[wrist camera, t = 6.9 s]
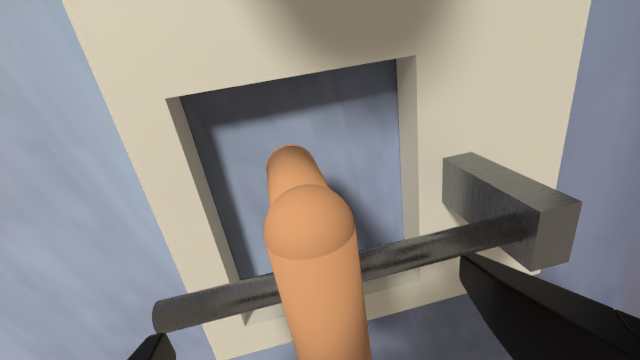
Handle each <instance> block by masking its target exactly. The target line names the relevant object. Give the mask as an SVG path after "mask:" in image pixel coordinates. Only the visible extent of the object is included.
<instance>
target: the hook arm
mask: <svg viewBox="0 0 640 360" xmlns="http://www.w3.org/2000/svg"><path fill="white" fill-rule="evenodd" d="M442 202H443V203H444V204H445V205H447V206H448V207H449V208H450V209H452V210H453V211H454V212H455V213H457V214H458V215H459V216H460V217H462V218H463V219H464V220H465V221H467V222H468V223H469V224H466V225H462V226H458V227H454V228H450V229H446V230H442V231H438V232H434V233H430V234H426V235H422V236H417V237H413V238H409V239H405V240H401V241H397V242H393V243H389V244H385V245H381V246H377V247H373V248H369V249H365V250H361V251H358V253H359V261H360V269H361V277H362V282H365V281H369V280H373V279H377V278H380V277H384V276H388V275H392V274H396V273H400V272H403V271H407V270H411V269H415V268H419V267H423V266H426V265H430V264H434V263H438V262H442V261H446V260H449V259H453V258H457V257H461V256H462V255H464V254H468V253H476V252H480V251H484V250H488V249H492V248H496V247H499V248H501V249H502V250H503V251H504V252H506V253H507V254H508V255H509V256H511V257H512V258H513V259H515V260H516V261H517V262H518V263H520V264H521V265H522V266H523V267H525V268H526V269H527V270H528V271H530V272H533V271H536V270H540V269H544V268H547V267H551V266H555V265H558V264H562V263H566V262H569V258H570V253H571V249H572V245H573V241H574V236H575V232H576V228H577V223H578V219H579V215H580V210H581V206H582V201H580V200H577V199H575V198H573V197H571V196H568V195H566V194H564V193H562V192H560V191H557V190H555V189H553V188H551V187H548V186H546V185H544V184H542V183H540V182H537V181H535V180H533V179H531V178H528V177H526V176H524V175H522V174H520V173H517V172H515V171H513V170H511V169H508V168H506V167H504V166H502V165H500V164H497V163H495V162H493V161H491V160H488V159H486V158H484V157H482V156H480V155H477V154H475V153H473V152H468V153H464V154H459V155H454V156H450V157H445V158H443V170H442ZM280 303H282V301H281V297H280V294H279V290H278V286H277V283H276V279H275V276H274V272H272V273H268V274H264V275H260V276H256V277H252V278H248V279H244V280H240V281H236V282H232V283H228V284H224V285H220V286H216V287H212V288H207V289H203V290H199V291H195V292H191V293H187V294H183V295H179V296H175V297H171V298H167V299H163V300H159V301H157V302H156V303H155V305H154V307H153V311H152V322H153V327H154V329H155V331H156V333H157V334H158V333H169V332H173V331H177V330H181V329H184V328H188V327H192V326H196V325H200V324H204V323H207V322H211V321H215V320H219V319H223V318H227V317H231V316H234V315H238V314H242V313H246V312H250V311H254V310H257V309H261V308H265V307H269V306H273V305H277V304H280Z"/></svg>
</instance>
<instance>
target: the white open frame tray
mask: <svg viewBox="0 0 640 360" xmlns="http://www.w3.org/2000/svg"><path fill="white" fill-rule="evenodd" d="M62 2H63V5H64V7H65V9H66V12H67V14H68V16H69V18H70V21H71V23H72V25H73V28H74V30H75V32H76V35H77V37H78V39H79V42H80V44H81V46H82V49H83V51H84V53H85V56H86V58H87V60H88V63H89V65H90V67H91V69H92V72H93V74H94V76H95V79H96V81H97V83H98V86H99V88H100V90H101V93H102V95H103V97H104V100H105V102H106V104H107V107H108V109H109V111H110V113H111V116H112V118H113V120H114V123H115V125H116V127H117V130H118V132H119V134H120V137H121V139H122V141H123V144H124V146H125V148H126V151H127V153H128V155H129V157H130V160H131V162H132V164H133V167H134V169H135V171H136V174H137V176H138V178H139V181H140V183H141V185H142V188H143V190H144V192H145V195H146V197H147V199H148V201H149V204H150V206H151V208H152V211H153V213H154V215H155V218H156V220H157V222H158V225H159V227H160V229H161V232H162V234H163V236H164V239H165V241H166V243H167V246H168V248H169V250H170V252H171V255H172V257H173V259H174V262H175V264H176V266H177V269H178V271H179V273H180V276H181V278H182V280H183V283H184V285H185V287H186V290H187V292H188V293H191V292H195V291H199V290H203V289H207V288H212V287H216V286H220V285H224V284H228V283H232V282H236V281H240V279H239V276H238V273H237V270H236V267H235V263H234V260H233V257H232V254H231V251H230V248H229V245H228V242H227V239H226V236H225V233H224V230H223V227H222V224H221V221H220V218H219V215H218V212H217V209H216V206H215V203H214V200H213V197H212V194H211V191H210V188H209V185H208V182H207V179H206V176H205V173H204V170H203V167H202V164H201V161H200V158H199V155H198V152H197V149H196V146H195V143H194V140H193V137H192V134H191V131H190V128H189V125H188V122H187V119H186V116H185V113H184V110H183V107H182V104H181V101H180V98H179V96H183V95H189V94H195V93H201V92H206V91H212V90H218V89H224V88H229V87H235V86H241V85H246V84H252V83H258V82H264V81H269V80H275V79H281V78H287V77H292V76H298V75H304V74H310V73H315V72H321V71H327V70H333V69H338V68H344V67H350V66H356V65H361V64H367V63H373V62H379V61H384V60H390V59H396V66H397V89H398V112H399V135H400V158H401V181H402V205H403V228H404V240H405V239H409V238H413V237H417V236H422V235H426V234H430V233H434V232H438V231H442V230H446V229H450V228H454V227H458V226H462V225H466V224H469V223H468V222H467V221H465V220H464V219H463V218H462V217H460V216H459V215H458V214H457V213H455V212H454V211H453V210H452V209H450V208H449V207H448V206H447V205H445V204H444V203H443V202H442V170H443V158H445V157H450V156H454V155H459V154H464V153H468V152H473V153H475V154H477V155H480V156H482V157H484V158H486V159H488V160H491V161H493V162H495V163H497V164H500V165H502V166H504V167H506V168H508V169H511V170H513V171H515V172H517V173H520V174H522V175H524V176H526V177H528V178H531V179H533V180H535V181H537V182H540V183H542V184H544V185H546V186H548V187H551V188H553V189H555V190H556V185H557V179H558V174H559V169H560V163H561V158H562V153H563V147H564V142H565V137H566V131H567V126H568V121H569V115H570V110H571V105H572V99H573V94H574V89H575V83H576V78H577V73H578V67H579V62H580V57H581V51H582V46H583V41H584V35H585V30H586V25H587V19H588V14H589V9H590V4H591V0H62ZM476 253H477V254H479V255H482V256H484V257H487V258H489V259H492V260H494V261H497V262H499V263H502V264H504V265H507V266H509V267H512V268H514V269H517V270H519V271H522V272H524V273H527V274H529V275H535V274H539V273H540V270H541V269H540V270H536V271H533V272H530V271H528V270H527V269H526V268H525V267H523V266H522V265H521V264H520V263H518V262H517V261H516V260H515V259H513V258H512V257H511V256H509V255H508V254H507V253H506V252H504V251H503V250H502V249H501V248H499V247H496V248H492V249H488V250H484V251H480V252H476ZM459 264H460V257H457V258H453V259H449V260H446V261H442V262H438V263H434V264H430V265H426V266H423V267H419V268H415V269H411V270H407V271H403V272H400V273H396V274H392V275H388V276H384V277H380V278H377V279H373V280H369V281H365V282H362V285H363V293H364V301H365V309H366V317H367V321H368V320H372V319H376V318H379V317H383V316H387V315H390V314H394V313H397V312H401V311H405V310H408V309H412V308H416V307H419V306H423V305H426V304H430V303H434V302H437V301H441V300H445V299H448V298H452V297H455V296H459V295H463V294H466V293H467V292H466V290H465V288H464V287H463V285H462V283H461V281H460V278H459ZM202 327H203V329H204V331H205V334H206V336H207V338H208V340H209V343H210V345H211V347H212V350H213V352H214V354H215V357H216V359H217V360H227V359H231V358H234V357H238V356H242V355H245V354H249V353H253V352H256V351H260V350H263V349H267V348H271V347H274V346H278V345H282V344H285V343H289V342H292V341H293V340H292V336H291V333H290V329H289V325H288V322H287V318H286V315H285V311H284V308H283V304H282V303H280V304H277V305H273V306H269V307H265V308H261V309H257V310H254V311H250V312H246V313H242V314H238V315H234V316H231V317H227V318H223V319H219V320H215V321H211V322H207V323H204V324H202Z"/></svg>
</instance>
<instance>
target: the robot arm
mask: <svg viewBox="0 0 640 360" xmlns="http://www.w3.org/2000/svg"><path fill="white" fill-rule="evenodd" d="M459 278H460V281H461V283H462V285H463V287H464V288H465V290H466V292H467V293H468V295H469V296H470V298H471V300H472V301H473V303H474V304H475V306H476V308H477V309H478V311H479V313H480V314H481V316H482V317H483V319H484V321H485V322H486V324H487V325H488V327H489V328H490V329H491V331H492V332H493V334H494V335H495V336H496V338H497V339H498V340H499V342H500V343H501V344H502V345H503V347H504V348H505V349H506V351H507V352H508V353H509V355H510V356H511V357H512V359H513V360H640V319H639V318H637V317H634V316H632V315H629V314H627V313H624V312H622V311H619V310H614V309H613V308H612V307H609V306H607V305H604V304H602V303H599V302H597V301H594V300H592V299H589V298H587V297H584V296H582V295H579V294H577V293H574V292H572V291H569V290H567V289H564V288H562V287H559V286H557V285H554V284H552V283H549V282H547V281H544V280H542V279H539V278H537V277H534V276H532V275H529V274H527V273H524V272H522V271H519V270H517V269H514V268H512V267H509V266H507V265H504V264H502V263H499V262H497V261H494V260H492V259H489V258H487V257H484V256H482V255H479V254H477V253H468V254H464V255H462V256H461V257H460V264H459ZM127 360H176V353H175V350H174V348H173V346H172V344H171V342H170V340H169V338H168V336H167V335H166V334H165V333H158V334H154V335H151V336H149V337H147V338H146V339H145V340H144V341H143V343H142V344H141V345H140V346H139V347H138V348H137V349H136V350H135V352H134V353H133V354H132V355H131V356H130V357H129V358H128V359H127Z"/></svg>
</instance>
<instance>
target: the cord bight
mask: <svg viewBox="0 0 640 360" xmlns="http://www.w3.org/2000/svg"><path fill="white" fill-rule="evenodd" d="M266 171H267V182H268V193H269V203H270V209H269V211H268V213H267V216H266V219H265V224H264V238H265V244H266V247H267V251H268V254H269V258H270V262H271V265H272V269H273V272H274V276H275V279H276V283H277V286H278V290H279V294H280V297H281V301H282V304H283V308H284V311H285V315H286V318H287V322H288V325H289V329H290V333H291V336H292V340H293V343H294V347H295V350H296V354H297V357H298V360H372V358H371V350H370V342H369V334H368V325H367V317H366V309H365V301H364V293H363V285H362V277H361V269H360V261H359V253H358V245H357V237H356V228H355V222H354V218H353V215H352V212H351V210H350V208H349V206H348V205H347V203H346V202H345V201H344V200H343V199H342V197H341V196H340V195H338V194H337V193H335V192H334V191H333V190H331V189H330V188H329V186H328V184H327V183H326V181H325V179H324V177H323V175H322V173H321V171H320V170H319V168H318V166H317V164H316V162H315V160H314V158H313V157H312V155H311V154H310V153H309V152H308V151H307V150H306V149H305V148H303V147H301V146H297V145H285V146H282V147H280V148H278V149H277V150H275V151H274V152H273V153H272V154H271V156H270V157H269V159H268V162H267V168H266Z"/></svg>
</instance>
